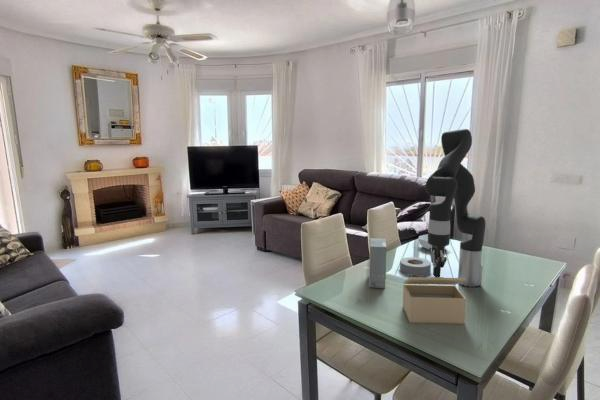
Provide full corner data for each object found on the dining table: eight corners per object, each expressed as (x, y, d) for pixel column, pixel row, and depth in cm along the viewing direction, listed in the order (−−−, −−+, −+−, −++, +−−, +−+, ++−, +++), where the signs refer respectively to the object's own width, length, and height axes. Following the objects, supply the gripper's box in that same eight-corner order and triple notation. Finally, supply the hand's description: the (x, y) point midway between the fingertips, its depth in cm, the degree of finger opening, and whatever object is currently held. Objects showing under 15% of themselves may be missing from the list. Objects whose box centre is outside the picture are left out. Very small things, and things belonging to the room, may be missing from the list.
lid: (454, 284, 136) (454, 282, 136) (465, 280, 125) (465, 277, 125) (403, 283, 138) (403, 281, 138) (410, 279, 127) (409, 276, 127)
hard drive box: (385, 288, 158) (386, 247, 154) (368, 287, 159) (369, 246, 156) (384, 276, 173) (385, 238, 169) (368, 275, 174) (369, 237, 171)
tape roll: (398, 274, 176) (398, 264, 175) (401, 264, 190) (401, 255, 189) (430, 278, 170) (430, 268, 169) (430, 267, 184) (431, 258, 183)
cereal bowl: (420, 252, 209) (421, 241, 208) (416, 244, 225) (416, 234, 224) (450, 253, 206) (450, 242, 205) (443, 245, 222) (444, 235, 221)
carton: (453, 308, 138) (454, 285, 136) (464, 324, 126) (466, 298, 125) (402, 307, 140) (403, 284, 138) (409, 322, 128) (410, 297, 126)
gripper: (456, 236, 118) (453, 283, 120) (443, 227, 131) (441, 270, 133) (433, 236, 118) (431, 283, 121) (423, 226, 131) (421, 269, 134)
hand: (436, 276), depth 127 cm, fingers closed
